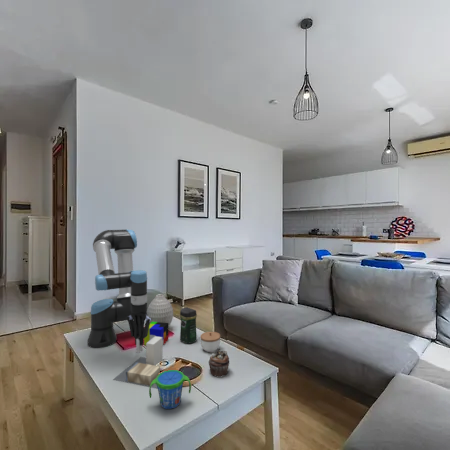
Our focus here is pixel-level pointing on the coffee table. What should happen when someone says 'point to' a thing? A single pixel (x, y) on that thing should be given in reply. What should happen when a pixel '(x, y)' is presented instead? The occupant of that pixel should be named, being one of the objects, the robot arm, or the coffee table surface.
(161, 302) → the vase
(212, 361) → the cupcake
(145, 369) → the oak slab
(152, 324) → the puzzle toy
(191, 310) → the coffee jar
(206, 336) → the lidded jar
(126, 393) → the coffee table surface
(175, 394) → the snack cup
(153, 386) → the mat
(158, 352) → the cream slab
